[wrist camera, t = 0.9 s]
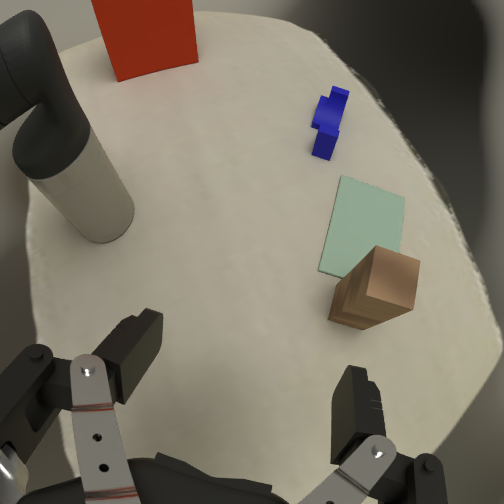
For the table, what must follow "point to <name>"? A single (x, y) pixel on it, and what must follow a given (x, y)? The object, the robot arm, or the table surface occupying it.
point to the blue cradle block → (328, 121)
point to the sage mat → (360, 225)
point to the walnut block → (376, 289)
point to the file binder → (147, 35)
